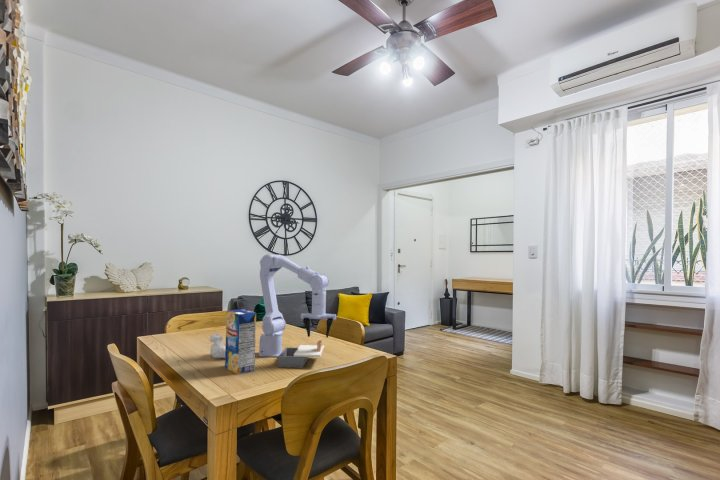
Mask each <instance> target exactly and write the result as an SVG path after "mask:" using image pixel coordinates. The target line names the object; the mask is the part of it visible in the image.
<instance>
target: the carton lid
mask: <svg viewBox="0 0 720 480" xmlns="http://www.w3.org/2000/svg"><path fill="white" fill-rule="evenodd" d="M322 344H323V343H322V339H318V341H317V342H316V344H299V346H298V347H297V348H298V349H297V350H296V352H295V353H294V357H308V358H320V357H322V353H323V351H324V349H325V345H322Z"/></svg>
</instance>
